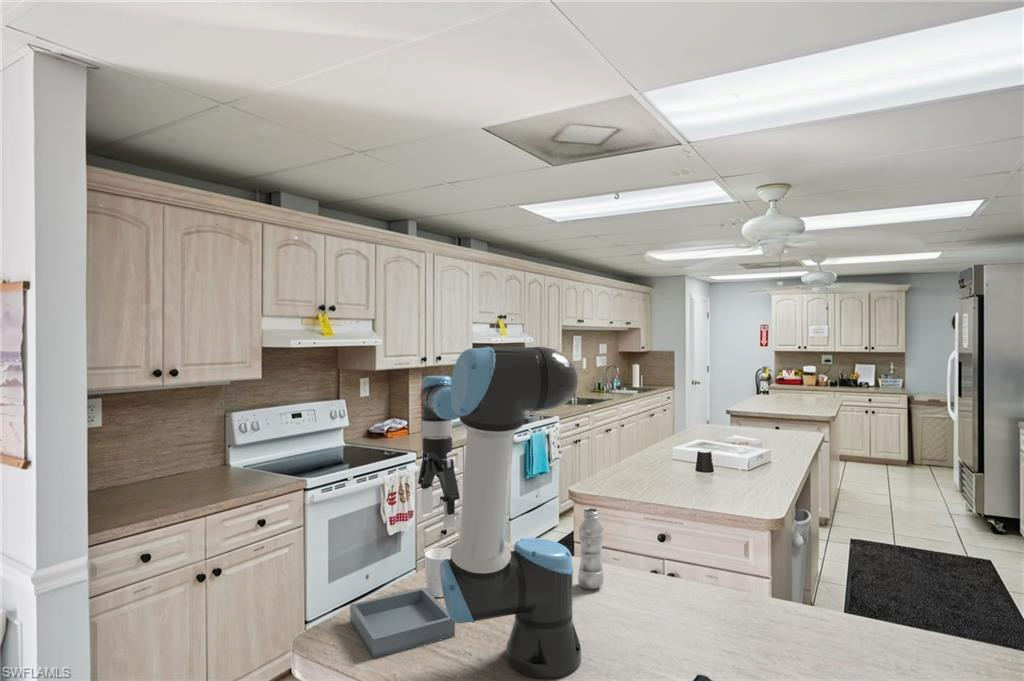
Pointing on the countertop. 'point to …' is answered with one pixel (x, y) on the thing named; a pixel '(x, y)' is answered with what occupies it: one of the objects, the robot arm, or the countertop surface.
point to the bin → (400, 622)
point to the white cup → (435, 569)
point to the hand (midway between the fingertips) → (437, 519)
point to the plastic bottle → (591, 551)
